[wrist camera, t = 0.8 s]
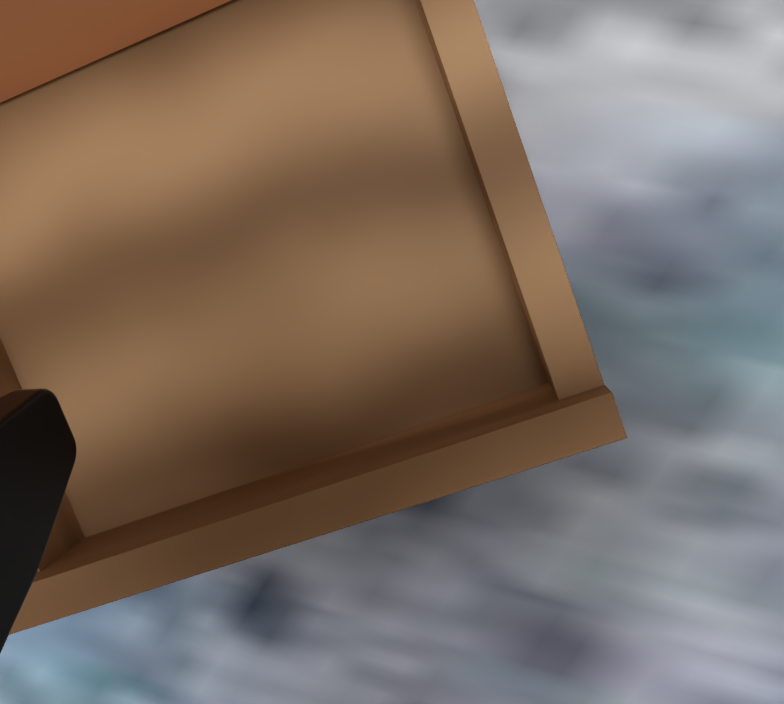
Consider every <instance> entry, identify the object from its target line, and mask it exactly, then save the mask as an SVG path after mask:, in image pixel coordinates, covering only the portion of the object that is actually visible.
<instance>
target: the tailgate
mask: <svg viewBox="0 0 784 704" xmlns="http://www.w3.org/2000/svg"><path fill="white" fill-rule="evenodd" d="M229 1H231V0H0V103H1V102H3V101H5V100H7V99H10V98H12V97H14V96H16V95H19V94H21V93H23V92H26V91H28V90H30V89H32V88H35V87H37V86H39V85H41V84H44V83H46V82H48V81H50V80H53V79H55V78H57V77H59V76H62V75H64V74H66V73H68V72H71V71H73V70H75V69H77V68H80V67H82V66H84V65H87V64H89V63H91V62H93V61H96V60H98V59H100V58H102V57H105V56H107V55H109V54H111V53H114V52H116V51H118V50H120V49H123V48H125V47H127V46H129V45H132V44H134V43H136V42H138V41H141V40H143V39H145V38H147V37H150V36H152V35H154V34H157V33H159V32H161V31H163V30H166V29H168V28H170V27H172V26H175V25H177V24H179V23H181V22H184V21H186V20H188V19H190V18H193V17H195V16H197V15H199V14H202V13H204V12H206V11H208V10H211V9H213V8H215V7H218V6H220V5H222V4H224V3H227V2H229Z"/></svg>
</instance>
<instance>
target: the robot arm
mask: <svg viewBox="0 0 784 704" xmlns="http://www.w3.org/2000/svg"><path fill="white" fill-rule="evenodd" d="M75 459H76V442H75V439H74V436H73V434H72V431H71V429H70V427H69V424H68V422H67V420H66V417H65V415H64V413H63V410H62V408H61V406H60V403H59V401H58V399H57V397H56V395H55V394H54V393H53V392H52V391H50V390H48V389H44V388H42V389H18V390H14V391H12V392H10V393H8V394H6V395H4V396H2V397H0V653H1V651H2V648H3V646H4V644H5V642H6V640H7V637H8V635H9V633H10V631H11V629H12V627H13V624H14V622H15V620H16V618H17V616H18V613H19V611H20V609H21V607H22V605H23V603H24V600H25V598H26V596H27V594H28V592H29V589H30V587H31V585H32V583H33V580H34V578H35V576H36V573H37V571H38V568H39V566H40V563H41V560H42V558H43V555H44V552H45V550H46V547H47V544H48V541H49V538H50V535H51V532H52V529H53V526H54V523H55V520H56V517H57V514H58V511H59V508H60V505H61V502H62V499H63V496H64V493H65V490H66V487H67V484H68V481H69V478H70V475H71V472H72V469H73V466H74V463H75Z"/></svg>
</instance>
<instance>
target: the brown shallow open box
mask: <svg viewBox="0 0 784 704" xmlns="http://www.w3.org/2000/svg"><path fill="white" fill-rule="evenodd" d="M42 388H44V389H48V390H50V391H52V392H53V393H54V394H55V395H56V397H57V399H58V401H59V403H60V406H61V408H62V410H63V413H64V415H65V417H66V420H67V422H68V424H69V427H70V429H71V431H72V434H73V436H74V439H75V442H76V459H75V463H74V466H73V469H72V472H71V475H70V478H69V481H68V484H67V487H66V490H65V493H64V496H63V499H62V502H61V505H60V508H59V511H58V514H57V517H56V520H55V523H54V526H53V529H52V532H51V535H50V538H49V541H48V544H47V547H46V550H45V552H44V555H43V558H42V560H41V563H40V566H39V568H38V571H37V573H36V576H35V578H34V580H33V583H32V585H31V587H30V589H29V592H28V594H27V596H26V598H25V600H24V603H23V605H22V607H21V609H20V611H19V613H18V616H17V618H16V620H15V622H14V624H13V627H12V629H11V631H10V633H9V635H10V634H13V633H16V632H19V631H22V630H25V629H28V628H32V627H35V626H38V625H41V624H44V623H47V622H50V621H54V620H57V619H60V618H63V617H66V616H69V615H72V614H76V613H79V612H82V611H85V610H88V609H91V608H94V607H98V606H101V605H104V604H107V603H110V602H113V601H116V600H120V599H123V598H126V597H129V596H132V595H135V594H138V593H141V592H145V591H148V590H151V589H154V588H157V587H160V586H163V585H167V584H170V583H173V582H176V581H179V580H182V579H185V578H189V577H192V576H195V575H198V574H201V573H204V572H207V571H211V570H214V569H217V568H220V567H223V566H226V565H229V564H233V563H236V562H239V561H242V560H245V559H248V558H251V557H255V556H258V555H261V554H264V553H267V552H270V551H273V550H277V549H280V548H283V547H286V546H289V545H292V544H295V543H299V542H302V541H305V540H308V539H311V538H314V537H317V536H321V535H324V534H327V533H330V532H333V531H336V530H339V529H343V528H346V527H349V526H352V525H355V524H358V523H361V522H365V521H368V520H371V519H374V518H377V517H380V516H383V515H387V514H390V513H393V512H396V511H399V510H402V509H405V508H409V507H412V506H415V505H418V504H421V503H424V502H427V501H431V500H434V499H437V498H440V497H443V496H446V495H449V494H453V493H456V492H459V491H462V490H465V489H468V488H471V487H475V486H478V485H481V484H484V483H487V482H490V481H493V480H496V479H500V478H503V477H506V476H509V475H512V474H515V473H518V472H522V471H525V470H528V469H531V468H534V467H537V466H540V465H544V464H547V463H550V462H553V461H556V460H559V459H562V458H566V457H569V456H572V455H575V454H578V453H581V452H584V451H588V450H591V449H594V448H597V447H600V446H603V445H606V444H610V443H613V442H616V441H619V440H622V439H625V438H627V436H626V433H625V430H624V427H623V424H622V421H621V418H620V415H619V412H618V409H617V406H616V403H615V400H614V397H613V394H612V392H611V391H610V390H609V389H608V388H607V387H606V386H605V385H604V383H603V380H602V377H601V374H600V371H599V368H598V365H597V362H596V359H595V356H594V354H593V351H592V348H591V345H590V342H589V339H588V336H587V333H586V330H585V327H584V324H583V321H582V318H581V315H580V312H579V309H578V306H577V304H576V301H575V298H574V295H573V292H572V289H571V286H570V283H569V280H568V277H567V274H566V271H565V268H564V265H563V262H562V259H561V256H560V253H559V251H558V248H557V245H556V242H555V239H554V236H553V233H552V230H551V227H550V224H549V221H548V218H547V215H546V212H545V209H544V206H543V203H542V201H541V198H540V195H539V192H538V189H537V186H536V183H535V180H534V177H533V174H532V171H531V168H530V165H529V162H528V159H527V156H526V153H525V150H524V148H523V145H522V142H521V139H520V136H519V133H518V130H517V127H516V124H515V121H514V118H513V115H512V112H511V109H510V106H509V103H508V100H507V98H506V95H505V92H504V89H503V86H502V83H501V80H500V77H499V74H498V71H497V68H496V65H495V62H494V59H493V56H492V53H491V50H490V48H489V45H488V42H487V39H486V36H485V33H484V30H483V27H482V24H481V21H480V18H479V15H478V12H477V9H476V6H475V3H474V0H231V1H229V2H227V3H224V4H222V5H220V6H218V7H215V8H213V9H211V10H208V11H206V12H204V13H202V14H199V15H197V16H195V17H193V18H190V19H188V20H186V21H184V22H181V23H179V24H177V25H175V26H172V27H170V28H168V29H166V30H163V31H161V32H159V33H157V34H154V35H152V36H150V37H147V38H145V39H143V40H141V41H138V42H136V43H134V44H132V45H129V46H127V47H125V48H123V49H120V50H118V51H116V52H114V53H111V54H109V55H107V56H105V57H102V58H100V59H98V60H96V61H93V62H91V63H89V64H87V65H84V66H82V67H80V68H77V69H75V70H73V71H71V72H68V73H66V74H64V75H62V76H59V77H57V78H55V79H53V80H50V81H48V82H46V83H44V84H41V85H39V86H37V87H35V88H32V89H30V90H28V91H26V92H23V93H21V94H19V95H16V96H14V97H12V98H10V99H7V100H5V101H3V102H1V103H0V397H2V396H4V395H6V394H8V393H10V392H12V391H14V390H18V389H42Z"/></svg>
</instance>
